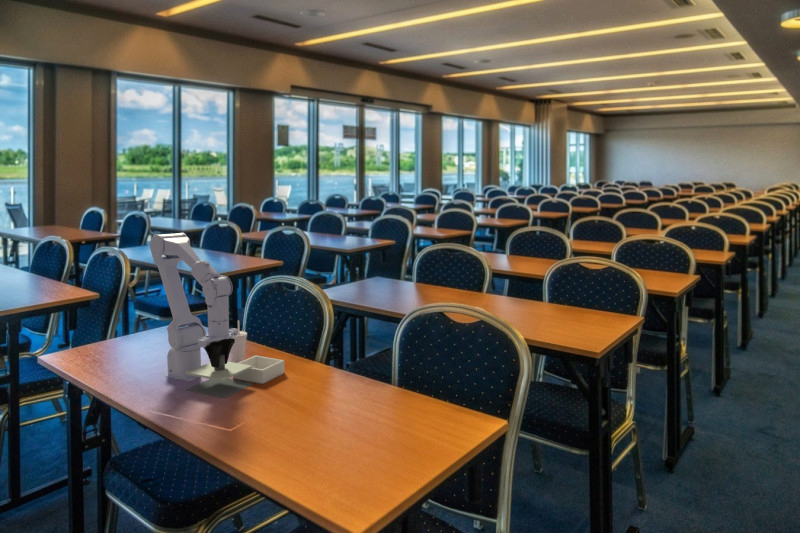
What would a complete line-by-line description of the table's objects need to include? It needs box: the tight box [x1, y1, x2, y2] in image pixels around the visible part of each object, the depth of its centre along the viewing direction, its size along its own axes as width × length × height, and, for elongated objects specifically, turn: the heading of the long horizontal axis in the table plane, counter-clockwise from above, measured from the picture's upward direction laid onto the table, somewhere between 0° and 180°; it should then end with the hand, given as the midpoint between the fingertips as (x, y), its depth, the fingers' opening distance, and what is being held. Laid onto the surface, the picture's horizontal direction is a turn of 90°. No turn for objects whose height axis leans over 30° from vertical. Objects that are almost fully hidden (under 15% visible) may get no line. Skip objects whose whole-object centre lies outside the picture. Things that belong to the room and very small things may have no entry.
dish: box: [232, 355, 286, 385], centre depth 183 cm, size 11×11×4 cm
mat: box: [185, 378, 254, 399], centre depth 173 cm, size 14×13×1 cm
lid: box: [186, 354, 252, 381], centre depth 172 cm, size 13×13×5 cm
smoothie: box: [230, 320, 248, 363], centre depth 196 cm, size 6×6×14 cm
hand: (219, 365), depth 172 cm, fingers closed on lid, 3 cm apart
